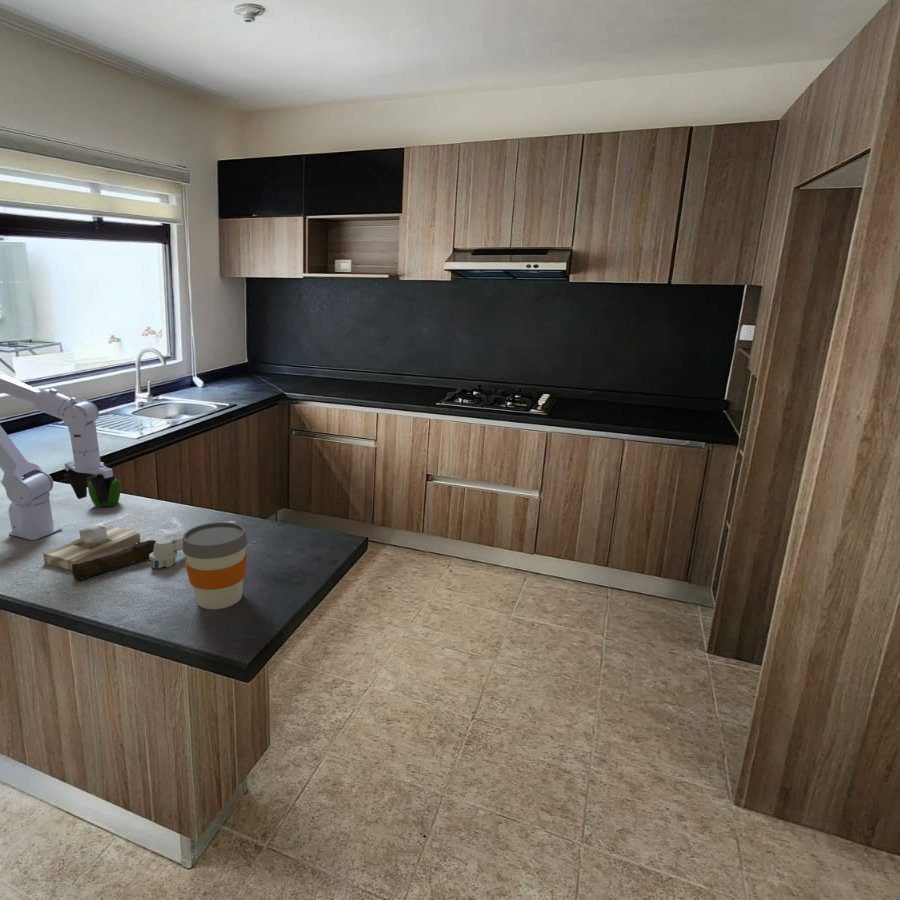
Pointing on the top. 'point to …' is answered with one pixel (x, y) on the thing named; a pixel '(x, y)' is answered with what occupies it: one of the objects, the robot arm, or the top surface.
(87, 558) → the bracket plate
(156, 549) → the white elongated piece
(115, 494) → the bell pepper
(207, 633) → the top surface
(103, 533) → the pale grey block
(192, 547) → the reusable coffee cup
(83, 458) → the robot arm
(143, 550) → the dark brown wood piece
